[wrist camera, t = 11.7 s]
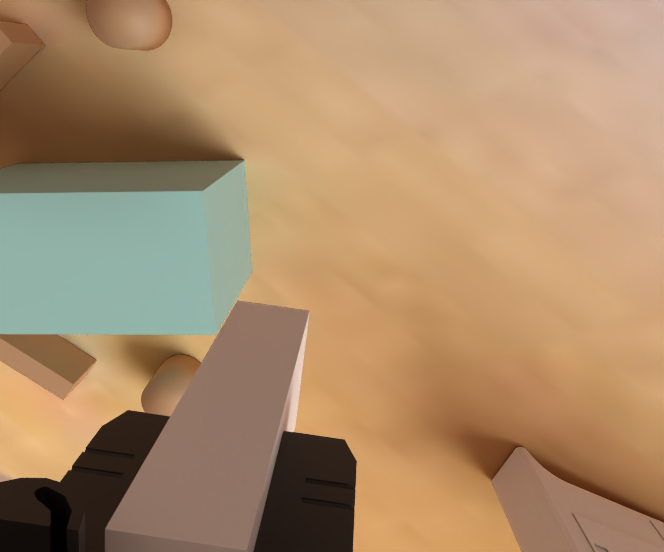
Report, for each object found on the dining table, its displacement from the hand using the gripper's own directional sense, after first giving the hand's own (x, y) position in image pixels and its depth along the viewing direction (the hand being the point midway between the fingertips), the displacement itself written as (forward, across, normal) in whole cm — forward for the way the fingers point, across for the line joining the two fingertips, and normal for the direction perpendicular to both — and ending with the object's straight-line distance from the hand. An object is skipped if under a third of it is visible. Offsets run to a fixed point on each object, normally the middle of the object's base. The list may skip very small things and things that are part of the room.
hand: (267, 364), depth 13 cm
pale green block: (+14, -8, -2) cm, 17 cm away
